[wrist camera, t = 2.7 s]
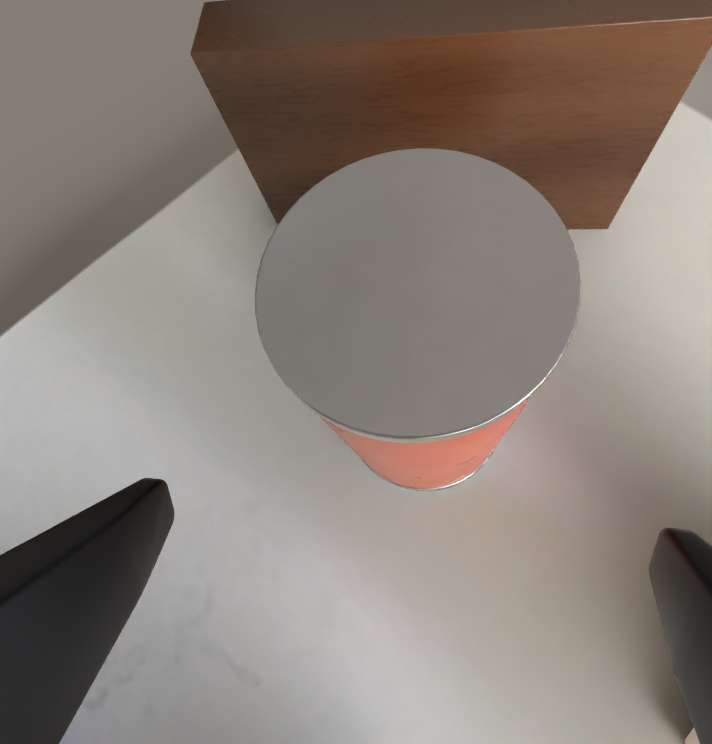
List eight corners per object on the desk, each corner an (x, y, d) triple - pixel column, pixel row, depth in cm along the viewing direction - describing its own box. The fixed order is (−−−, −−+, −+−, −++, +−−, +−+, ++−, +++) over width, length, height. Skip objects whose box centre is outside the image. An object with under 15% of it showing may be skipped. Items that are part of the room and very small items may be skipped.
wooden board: (607, 229, 23) (729, 15, 13) (279, 230, 25) (189, 54, 16) (605, 186, 23) (719, -46, 14) (286, 191, 26) (203, 1, 17)
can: (501, 498, 20) (588, 452, 8) (339, 483, 21) (228, 426, 10) (502, 344, 22) (576, 142, 10) (355, 338, 23) (278, 151, 12)
